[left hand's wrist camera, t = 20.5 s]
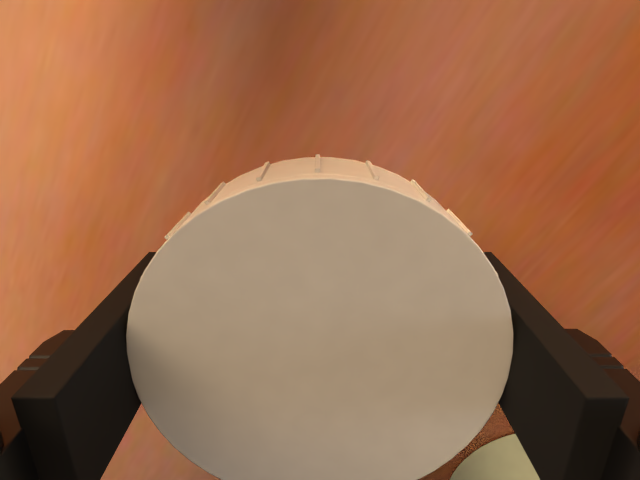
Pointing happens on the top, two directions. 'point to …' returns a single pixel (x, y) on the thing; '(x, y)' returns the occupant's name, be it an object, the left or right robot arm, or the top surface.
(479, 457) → the screw-top jar
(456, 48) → the top surface
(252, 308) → the lid
